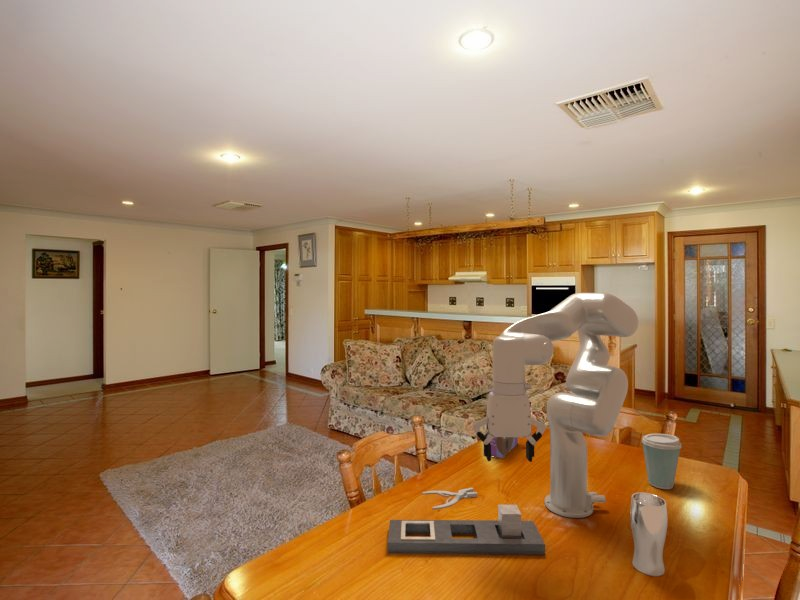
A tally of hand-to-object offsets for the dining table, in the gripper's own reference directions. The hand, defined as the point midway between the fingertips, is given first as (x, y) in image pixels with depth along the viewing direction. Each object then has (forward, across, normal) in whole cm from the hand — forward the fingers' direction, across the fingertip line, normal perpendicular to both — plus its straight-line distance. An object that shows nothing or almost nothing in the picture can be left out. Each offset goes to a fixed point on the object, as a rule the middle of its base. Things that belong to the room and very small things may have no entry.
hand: (508, 459), depth 104 cm
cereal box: (+20, -11, -60) cm, 64 cm away
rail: (+20, +11, 0) cm, 23 cm away
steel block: (+20, 0, 0) cm, 20 cm away
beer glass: (+20, -28, +9) cm, 36 cm away
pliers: (+21, +12, -22) cm, 32 cm away
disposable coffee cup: (+20, -53, -31) cm, 65 cm away
